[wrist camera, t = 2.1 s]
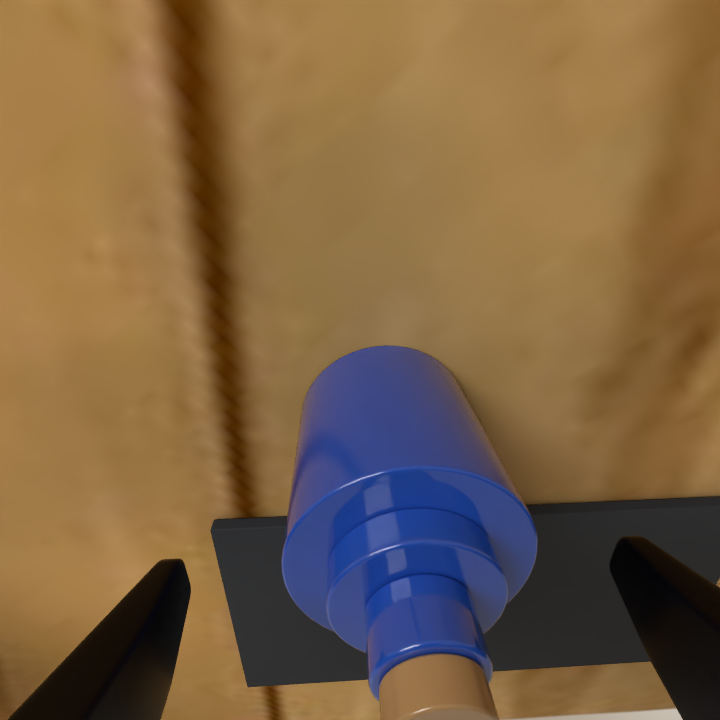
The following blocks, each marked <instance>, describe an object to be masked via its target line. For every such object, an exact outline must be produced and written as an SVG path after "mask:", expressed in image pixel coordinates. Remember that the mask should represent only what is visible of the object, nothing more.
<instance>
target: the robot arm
mask: <svg viewBox="0 0 720 720" xmlns="http://www.w3.org/2000/svg"><path fill="white" fill-rule="evenodd" d="M609 566H610V572H611V575H612V577H613V580H614V582H615V584H616V586H617V589H618V591H619V593H620V595H621V598H622V600H623V602H624V604H625V606H626V609H627V611H628V613H629V615H630V618H631V620H632V622H633V624H634V627H635V629H636V631H637V633H638V636H639V638H640V640H641V642H642V644H643V646H644V649H645V651H646V653H647V655H648V657H649V659H650V660H651V662H652V664H653V666H654V668H655V670H656V672H657V673H658V675H659V677H660V679H661V681H662V683H663V684H664V686H665V688H666V690H667V692H668V693H669V695H670V697H671V699H672V701H673V702H674V704H675V706H676V708H677V710H678V712H679V713H680V715H681V717H682V719H683V720H720V587H718V586H717V585H715V584H714V583H712V582H711V581H709V580H708V579H706V578H705V577H703V576H702V575H700V574H699V573H697V572H696V571H694V570H693V569H691V568H690V567H688V566H687V565H685V564H684V563H682V562H681V561H679V560H678V559H676V558H675V557H673V556H672V555H670V554H669V553H667V552H666V551H664V550H663V549H661V548H660V547H658V546H657V545H655V544H654V543H652V542H651V541H649V540H648V539H646V538H644V537H642V536H637V535H636V536H622V537H620V538H619V539H618V541H617V544H616V546H615V549H614V552H613V554H612V557H611V559H610V564H609ZM190 593H191V586H190V582H189V578H188V575H187V571H186V568H185V564H184V562H183V560H181V559H164V560H161V561H159V562H158V563H157V564H156V565H155V566H154V567H153V568H152V569H151V570H150V571H149V572H148V573H147V574H146V575H145V576H144V577H143V578H142V579H141V580H140V581H139V582H138V583H137V584H136V586H135V587H134V588H133V589H132V590H131V591H130V592H129V593H128V594H127V595H126V596H125V597H124V598H123V599H122V600H121V601H120V602H119V603H118V604H117V605H116V606H115V608H114V609H113V610H112V611H111V612H110V613H109V614H108V615H107V616H106V617H105V618H104V619H103V620H102V621H101V622H100V623H99V624H98V625H97V626H96V627H95V628H94V630H93V631H92V632H91V633H90V634H89V635H88V636H87V637H86V638H85V639H84V640H83V641H82V642H81V643H80V644H79V645H78V646H77V647H76V648H75V649H74V650H73V652H72V653H71V654H70V655H69V656H68V657H67V658H66V659H65V660H64V661H63V662H62V663H61V664H60V665H59V666H58V667H57V668H56V669H55V670H54V671H53V672H52V674H51V675H50V676H49V677H48V678H47V679H46V680H45V681H44V682H43V683H42V684H41V685H40V686H39V687H38V688H37V689H36V690H35V691H34V692H33V693H32V694H31V696H30V697H29V698H28V699H27V700H26V701H25V702H24V703H23V704H22V705H21V706H20V707H19V708H18V709H17V710H16V711H15V712H14V713H13V714H12V715H11V716H10V718H9V719H8V720H160V719H161V716H162V713H163V710H164V706H165V703H166V700H167V697H168V693H169V690H170V686H171V682H172V678H173V674H174V670H175V665H176V660H177V656H178V651H179V646H180V642H181V637H182V632H183V628H184V623H185V618H186V614H187V609H188V604H189V600H190Z"/></svg>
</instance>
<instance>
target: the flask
mask: <svg viewBox="0 0 720 720" xmlns="http://www.w3.org/2000/svg"><path fill="white" fill-rule="evenodd" d="M537 550H538V548H537V532H536V527H535V523H534V521H533V519H532V517H531V514H530V512H529V510H528V509H527V507H526V505H525V503H524V501H523V499H522V498H521V496H520V494H519V492H518V490H517V489H516V487H515V485H514V483H513V481H512V480H511V478H510V476H509V474H508V472H507V471H506V469H505V467H504V465H503V463H502V462H501V460H500V458H499V456H498V454H497V452H496V451H495V449H494V447H493V445H492V443H491V442H490V440H489V438H488V436H487V434H486V433H485V431H484V429H483V427H482V425H481V424H480V422H479V420H478V418H477V416H476V415H475V413H474V411H473V409H472V407H471V405H470V404H469V402H468V400H467V398H466V396H465V395H464V393H463V391H462V389H461V387H460V386H459V384H458V382H457V381H456V379H455V377H454V376H453V374H452V373H451V372H450V371H449V370H448V369H447V368H446V367H445V366H444V365H443V364H441V363H440V362H439V361H438V360H436V359H434V358H433V357H431V356H429V355H427V354H425V353H423V352H420V351H418V350H414V349H411V348H406V347H400V346H376V347H370V348H365V349H361V350H358V351H355V352H352V353H350V354H348V355H346V356H344V357H342V358H340V359H338V360H337V361H335V362H334V363H332V364H331V365H330V366H328V367H327V368H326V369H325V370H324V371H323V372H322V373H321V374H320V375H319V376H318V377H317V378H316V379H315V381H314V382H313V384H312V385H311V387H310V388H309V391H308V393H307V395H306V397H305V400H304V403H303V408H302V414H301V422H300V429H299V436H298V443H297V450H296V457H295V465H294V472H293V479H292V486H291V493H290V501H289V508H288V515H287V522H286V529H285V536H284V544H283V551H282V558H281V568H282V575H283V580H284V583H285V586H286V588H287V591H288V593H289V595H290V597H291V598H292V600H293V601H294V603H295V604H296V605H297V606H298V607H299V608H300V610H301V611H302V612H303V613H304V614H305V615H307V616H308V617H309V618H311V619H312V620H313V621H314V622H316V623H318V624H319V625H321V626H323V627H324V628H327V629H329V630H331V631H333V632H335V633H336V634H337V635H338V636H339V637H340V638H341V639H342V640H343V641H345V642H346V643H347V644H349V645H350V646H352V647H354V648H356V649H358V650H360V651H362V652H365V653H367V670H368V683H369V687H370V690H371V692H372V694H373V695H374V697H375V698H376V699H377V700H378V701H379V704H380V716H381V720H499V717H498V714H497V711H496V707H495V704H494V700H493V697H492V694H491V690H490V687H489V683H490V682H491V679H492V675H493V663H492V660H491V657H490V653H489V650H488V647H487V644H486V641H485V637H484V633H485V632H487V631H488V630H489V629H490V628H491V627H492V626H493V625H494V624H495V623H496V622H497V620H498V619H499V618H500V616H501V615H502V613H503V611H504V609H505V606H506V604H507V603H509V602H510V601H511V600H512V599H513V598H514V596H515V595H516V594H517V593H518V592H519V591H520V590H521V588H522V587H523V586H524V584H525V583H526V581H527V579H528V578H529V576H530V574H531V572H532V569H533V567H534V564H535V561H536V555H537Z"/></svg>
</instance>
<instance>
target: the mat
mask: <svg viewBox="0 0 720 720" xmlns="http://www.w3.org/2000/svg"><path fill="white" fill-rule="evenodd" d="M526 507H527V509H528V510H529V512H530V514H531V517H532V519H533V521H534V523H535V527H536V532H537V548H538V550H537V555H536V561H535V564H534V567H533V569H532V572H531V574H530V576H529V578H528V579H527V581H526V583H525V584H524V586H523V587H522V588H521V590H520V591H519V592H518V593H517V594H516V595H515V596H514V598H513V599H512V600H511V601H510V602H509V603H507V604H506V606H505V609H504V611H503V613H502V615H501V616H500V618H499V619H498V620H497V622H496V623H495V624H494V625H493V626H492V627H491V628H490V629H489V630H488V631H487V632H485V633H484V637H485V641H486V644H487V647H488V650H489V653H490V657H491V660H492V663H493V671H508V670H523V669H539V668H554V667H570V666H586V665H601V664H617V663H632V662H648V661H651V660H650V659H649V657H648V655H647V653H646V651H645V649H644V646H643V644H642V642H641V640H640V638H639V636H638V633H637V631H636V629H635V627H634V624H633V622H632V620H631V618H630V615H629V613H628V611H627V609H626V606H625V604H624V602H623V600H622V598H621V595H620V593H619V591H618V589H617V586H616V584H615V582H614V580H613V577H612V575H611V572H610V566H609V564H610V559H611V557H612V554H613V552H614V549H615V546H616V544H617V541H618V539H619V538H620V537H622V536H636V535H637V536H642V537H644V538H646V539H648V540H649V541H651V542H652V543H654V544H655V545H657V546H658V547H660V548H661V549H663V550H664V551H666V552H667V553H669V554H670V555H672V556H673V557H675V558H676V559H678V560H679V561H681V562H682V563H684V564H685V565H687V566H688V567H690V568H691V569H693V570H694V571H696V572H697V573H699V574H700V575H702V576H703V577H705V578H706V579H708V580H709V581H711V582H712V583H714V584H715V585H716V583H717V581H718V580H719V578H720V496H719V497H697V498H675V499H653V500H632V501H610V502H588V503H566V504H545V505H526ZM286 522H287V516H283V517H262V518H240V519H218V520H214V522H213V525H212V528H211V534H212V539H213V543H214V547H215V551H216V555H217V560H218V564H219V568H220V572H221V577H222V581H223V585H224V589H225V593H226V598H227V602H228V606H229V610H230V615H231V619H232V623H233V627H234V632H235V636H236V640H237V644H238V648H239V653H240V657H241V661H242V665H243V670H244V674H245V678H246V682H247V686H248V687H258V686H274V685H289V684H305V683H320V682H336V681H352V680H367V679H368V670H367V653H365V652H362V651H360V650H358V649H356V648H354V647H352V646H350V645H349V644H347V643H346V642H345V641H343V640H342V639H341V638H340V637H339V636H338V635H337V634H336V633H335V632H333V631H331V630H329V629H327V628H324V627H323V626H321V625H319V624H318V623H316V622H314V621H313V620H312V619H311V618H309V617H308V616H307V615H305V614H304V613H303V612H302V611H301V610H300V608H299V607H298V606H297V605H296V604H295V603H294V601H293V600H292V598H291V597H290V595H289V593H288V591H287V588H286V586H285V583H284V580H283V575H282V568H281V558H282V551H283V544H284V536H285V529H286Z"/></svg>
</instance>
